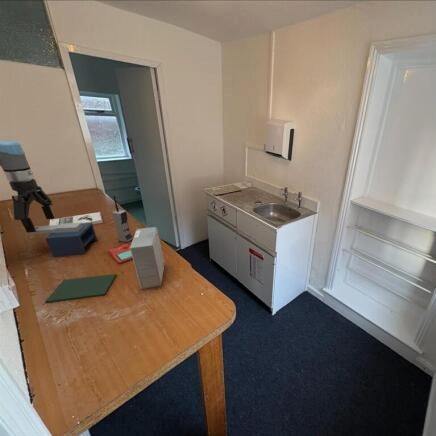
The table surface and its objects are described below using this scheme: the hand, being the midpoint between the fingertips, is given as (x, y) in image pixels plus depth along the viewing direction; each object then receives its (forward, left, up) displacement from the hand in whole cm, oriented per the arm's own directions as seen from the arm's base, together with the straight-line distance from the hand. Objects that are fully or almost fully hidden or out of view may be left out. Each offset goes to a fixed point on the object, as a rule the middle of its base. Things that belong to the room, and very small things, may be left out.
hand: (41, 225), depth 106 cm
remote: (+5, 0, -3) cm, 6 cm away
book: (-2, +30, -14) cm, 33 cm away
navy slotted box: (+10, 0, -13) cm, 16 cm away
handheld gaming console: (+33, -10, -14) cm, 37 cm away
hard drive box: (+49, -31, -14) cm, 60 cm away
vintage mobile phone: (+30, +4, -14) cm, 33 cm away
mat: (+26, -33, -13) cm, 44 cm away
